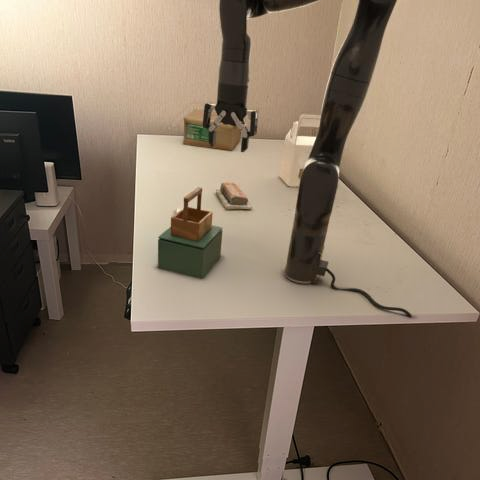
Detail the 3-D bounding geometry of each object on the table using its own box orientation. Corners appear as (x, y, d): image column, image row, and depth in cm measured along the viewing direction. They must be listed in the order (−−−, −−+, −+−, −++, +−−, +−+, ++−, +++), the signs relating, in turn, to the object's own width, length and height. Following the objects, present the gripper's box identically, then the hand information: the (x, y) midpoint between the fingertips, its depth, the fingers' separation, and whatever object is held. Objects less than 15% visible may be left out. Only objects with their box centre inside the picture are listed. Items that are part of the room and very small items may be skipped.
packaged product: (216, 181, 180) (240, 181, 183) (215, 193, 183) (239, 193, 185) (226, 197, 166) (253, 197, 168) (225, 210, 168) (251, 210, 171)
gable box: (287, 186, 199) (298, 117, 183) (278, 176, 209) (288, 110, 194) (335, 187, 204) (350, 120, 188) (324, 178, 214) (337, 113, 199)
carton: (180, 247, 140) (180, 218, 134) (220, 256, 137) (222, 227, 132) (158, 268, 128) (157, 236, 122) (201, 278, 125) (203, 247, 120)
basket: (185, 222, 132) (186, 184, 126) (211, 228, 130) (214, 190, 124) (170, 235, 124) (171, 195, 118) (198, 241, 122) (200, 201, 116)
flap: (180, 219, 135) (180, 218, 134) (222, 228, 132) (222, 227, 132) (170, 228, 129) (170, 227, 129) (213, 238, 126) (213, 237, 126)
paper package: (181, 144, 239) (182, 115, 231) (194, 134, 260) (195, 107, 252) (232, 152, 237) (235, 123, 229) (241, 141, 258) (243, 114, 250)
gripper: (201, 78, 113) (197, 147, 122) (256, 87, 110) (249, 156, 119) (211, 76, 119) (208, 141, 128) (264, 84, 116) (257, 150, 125)
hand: (227, 148), depth 123 cm, fingers open, 8 cm apart
